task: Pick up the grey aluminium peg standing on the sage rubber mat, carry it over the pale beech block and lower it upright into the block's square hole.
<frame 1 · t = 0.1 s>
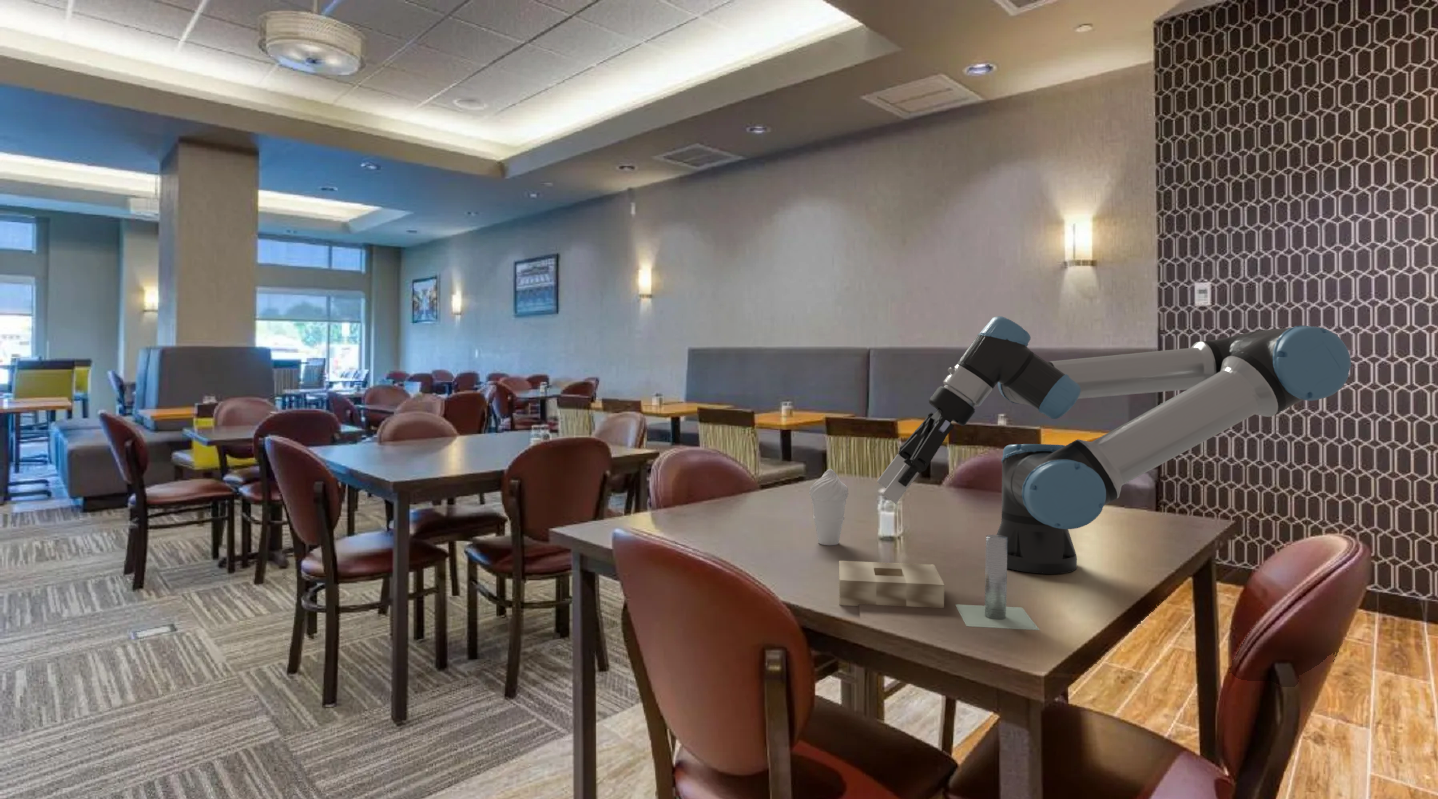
hand: (885, 492, 133), 15 cm above the table, tool tilted 35°, fingers open, 13 cm apart
peg: (995, 616, 111), resting on mat
block: (888, 596, 122), on the table
soft serve ice cream cone: (828, 544, 159), on the table
mat: (995, 619, 111), on the table
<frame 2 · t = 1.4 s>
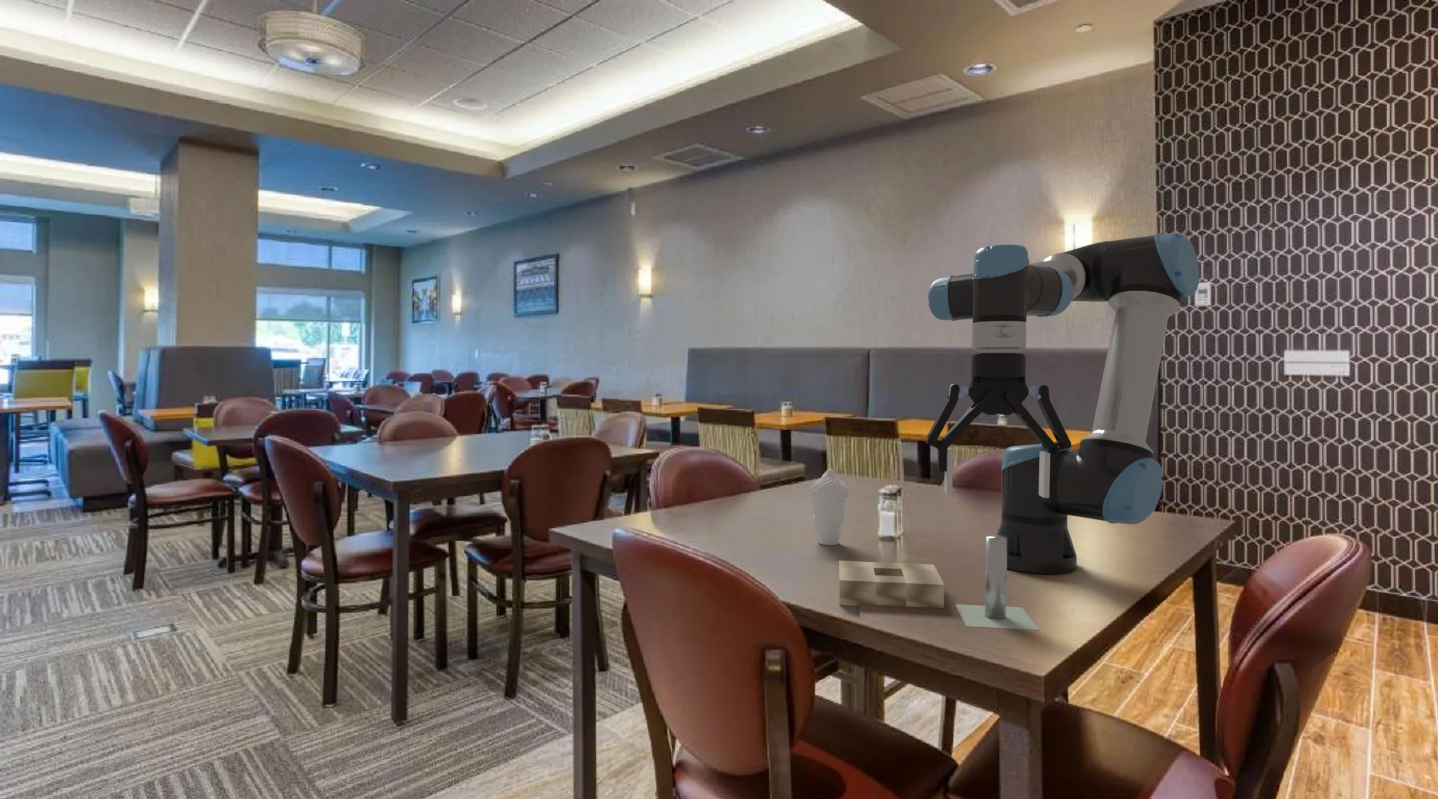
hand: (995, 495, 110), 19 cm above the table, tool pointing down, fingers open, 13 cm apart
nothing on the table moved.
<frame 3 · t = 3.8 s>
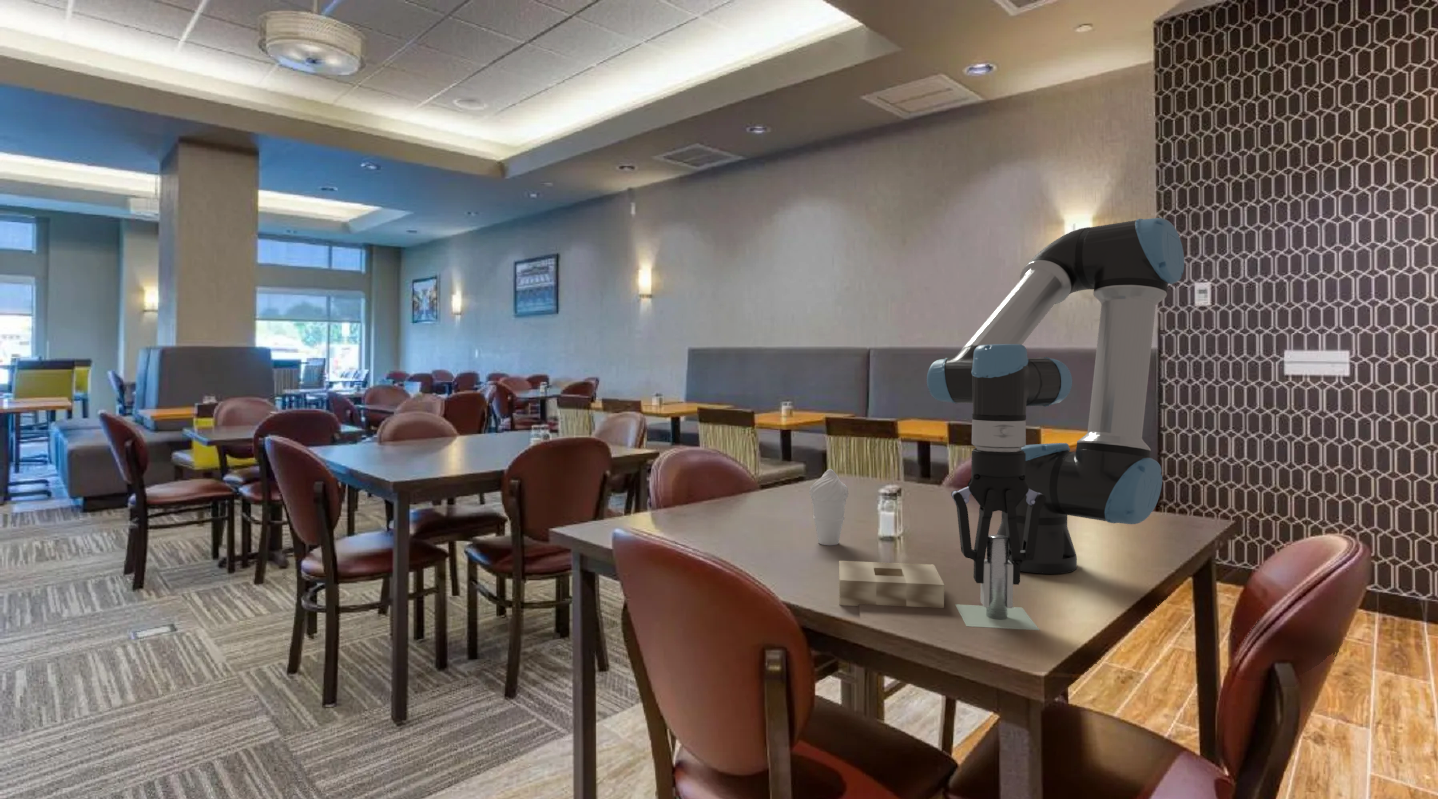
hand: (996, 604, 111), 2 cm above the table, tool pointing down, fingers closed on peg, 3 cm apart
peg: (996, 616, 111), resting on mat, touching gripper
everything else where it was.
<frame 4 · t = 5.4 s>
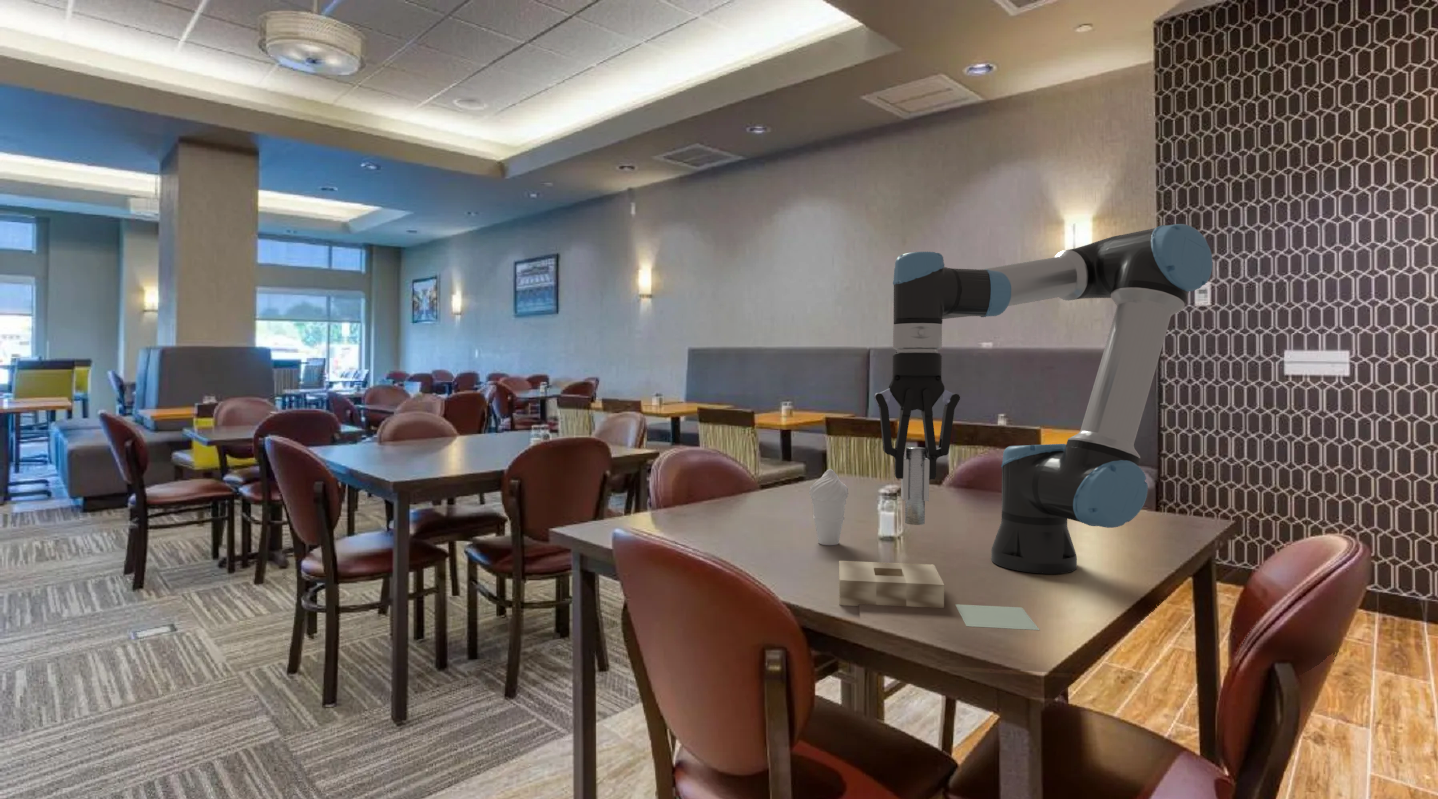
hand: (914, 499, 118), 17 cm above the table, tool pointing down, fingers closed on peg, 2 cm apart
peg: (914, 523, 118), point 13 cm above the table, touching gripper
everything else where it was.
when the fingers open (5 cm above the table, at t = 7.6 s): peg drops 1 cm, resting in block.
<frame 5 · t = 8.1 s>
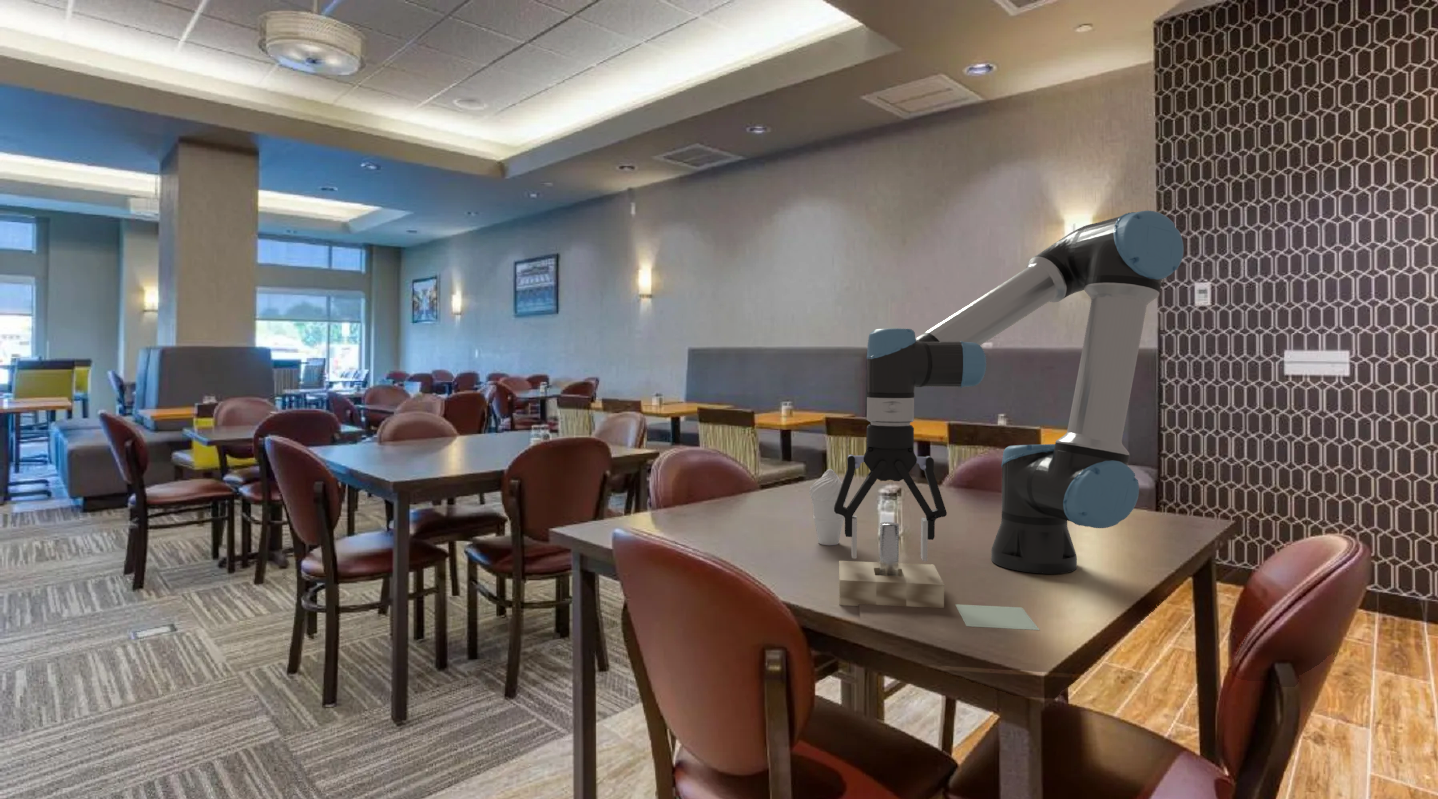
hand: (888, 557, 122), 6 cm above the table, tool pointing down, fingers open, 10 cm apart
peg: (888, 596, 122), resting in block
everything else where it was.
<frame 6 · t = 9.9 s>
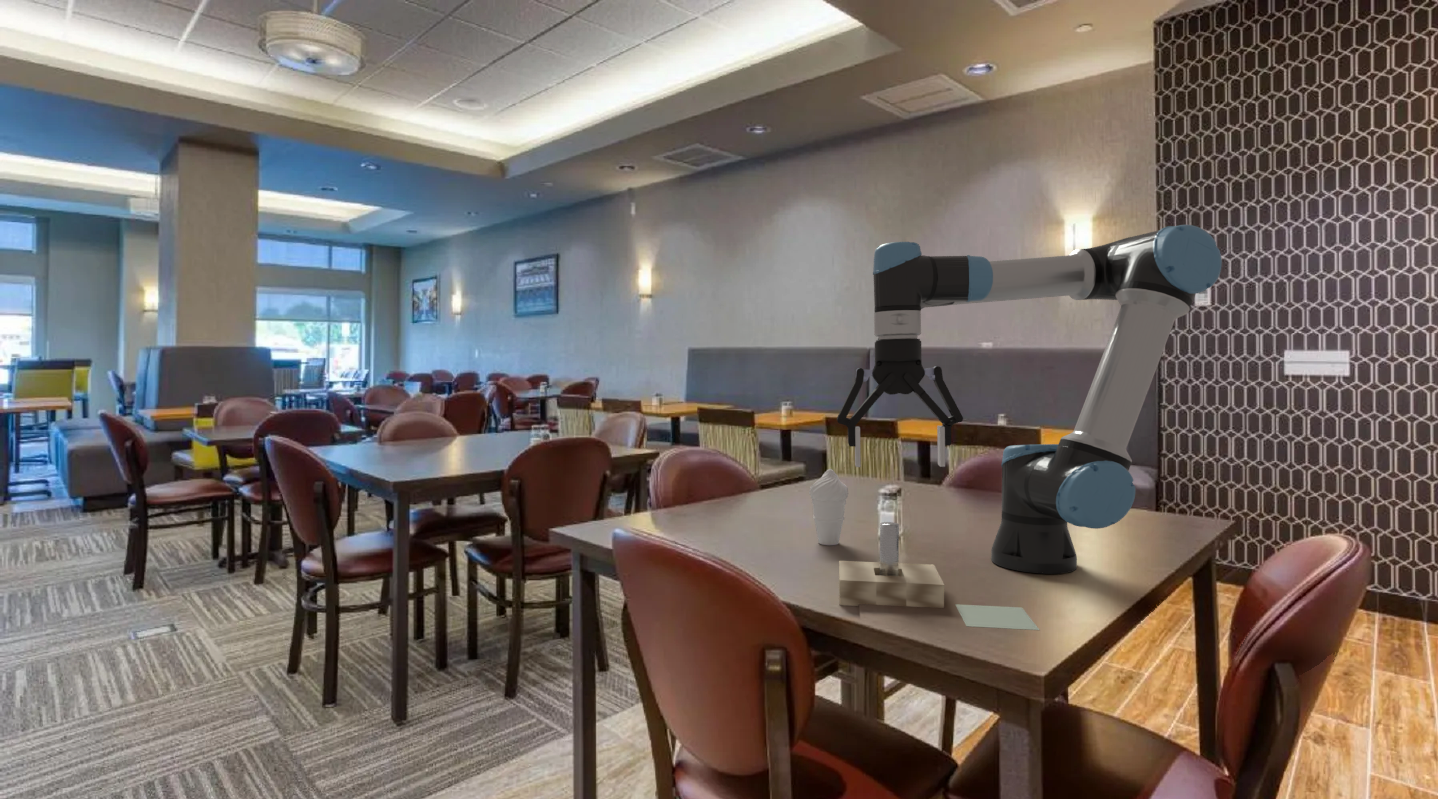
hand: (899, 466, 123), 21 cm above the table, tool pointing down, fingers open, 13 cm apart
nothing on the table moved.
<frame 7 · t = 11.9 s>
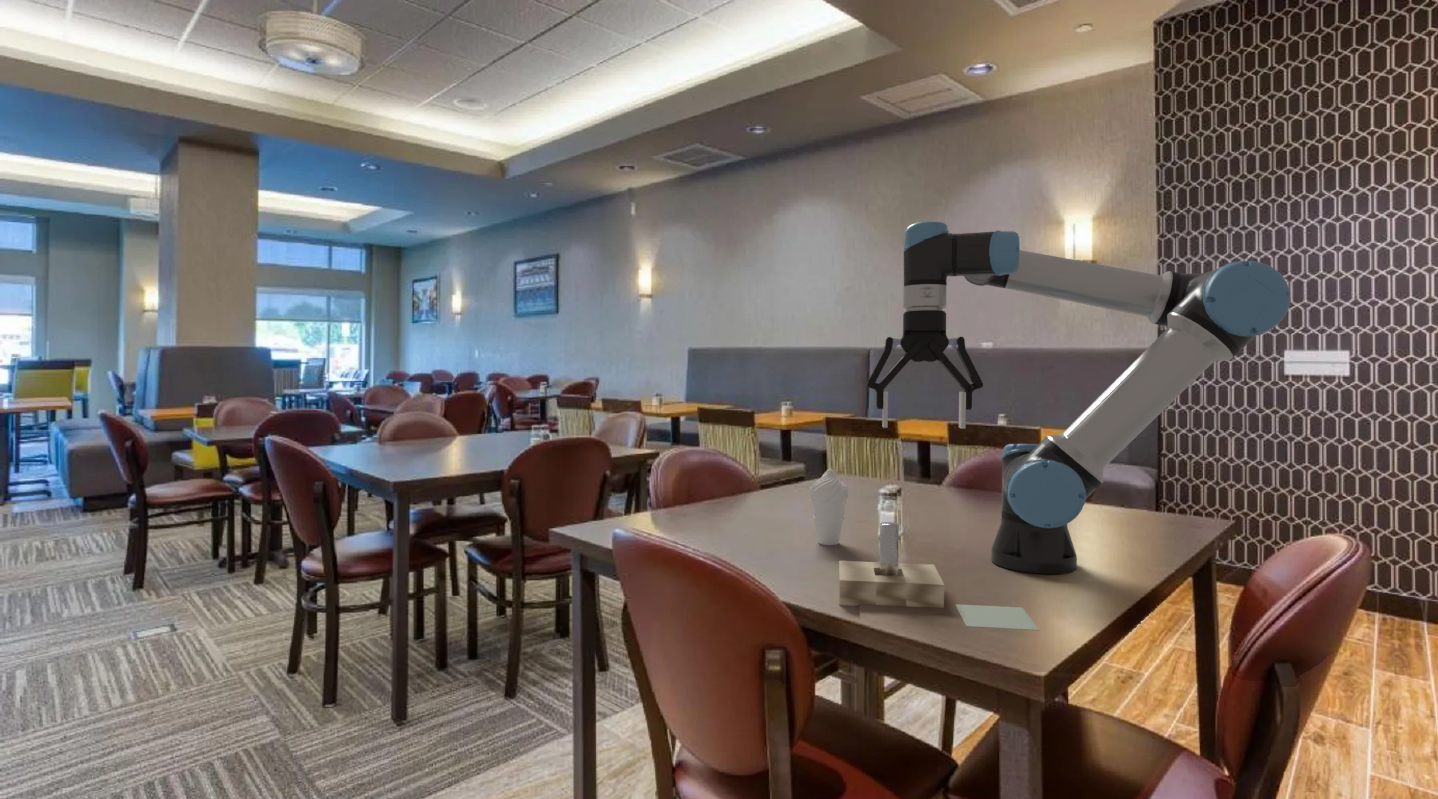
hand: (923, 427, 135), 27 cm above the table, tool pointing down, fingers open, 13 cm apart
nothing on the table moved.
at the end: peg 0.1 cm off-centre on the block, point 0.0 cm above the block's base; peg tilted 0°; the gripper is holding nothing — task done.
